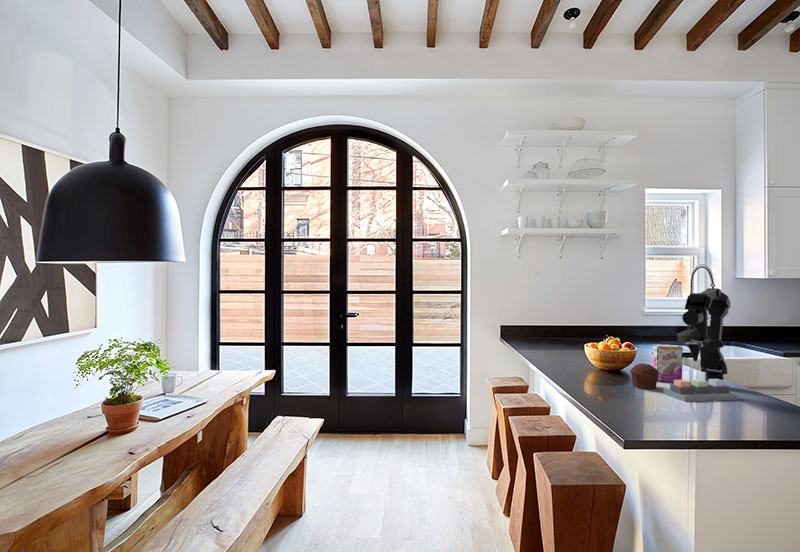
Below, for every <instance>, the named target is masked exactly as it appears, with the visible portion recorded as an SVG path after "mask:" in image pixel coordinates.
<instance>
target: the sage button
mask: <svg viewBox="0 0 800 552" xmlns="http://www.w3.org/2000/svg"><path fill="white" fill-rule="evenodd" d="M690 384H691V385H694V386H697V387H708V381H705V379H699V378H696V379H695V378H694V379H693V378H692V379H690Z"/></svg>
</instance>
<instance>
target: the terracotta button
mask: <svg viewBox="0 0 800 552" xmlns="http://www.w3.org/2000/svg"><path fill="white" fill-rule="evenodd" d="M673 384H674V385H675V386H678V387H690V384H691V381H689V380H685V379H682V380H674V382H673Z"/></svg>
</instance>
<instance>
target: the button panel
mask: <svg viewBox="0 0 800 552" xmlns="http://www.w3.org/2000/svg"><path fill="white" fill-rule="evenodd" d="M669 386H670V387H669V388H663V394H664V395H666V396H669V397H671V398H675V399H677V400H679V401H682V402H708V401H709V402H710V401H712V402H713V401H717V402H718V401H737V400H738V394H737V393H733V392H730V386H729V385H726V384H725V386H713V385H709V384H708V387H697V386H694V385H691V383H690V387H678V386H675V385H674V383H671V384H669Z"/></svg>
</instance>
